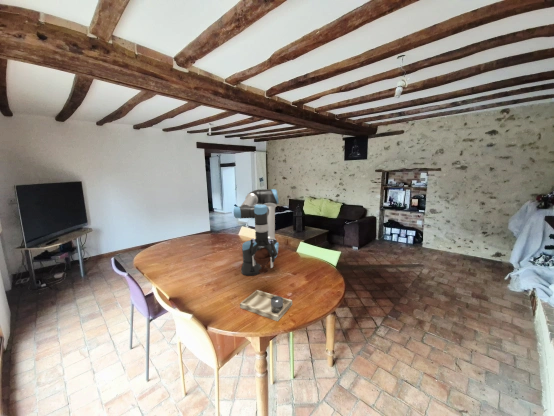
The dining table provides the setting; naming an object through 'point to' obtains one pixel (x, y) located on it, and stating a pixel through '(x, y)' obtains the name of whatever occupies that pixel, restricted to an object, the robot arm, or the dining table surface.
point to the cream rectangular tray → (264, 305)
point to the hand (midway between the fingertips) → (263, 266)
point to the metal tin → (276, 304)
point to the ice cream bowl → (262, 258)
